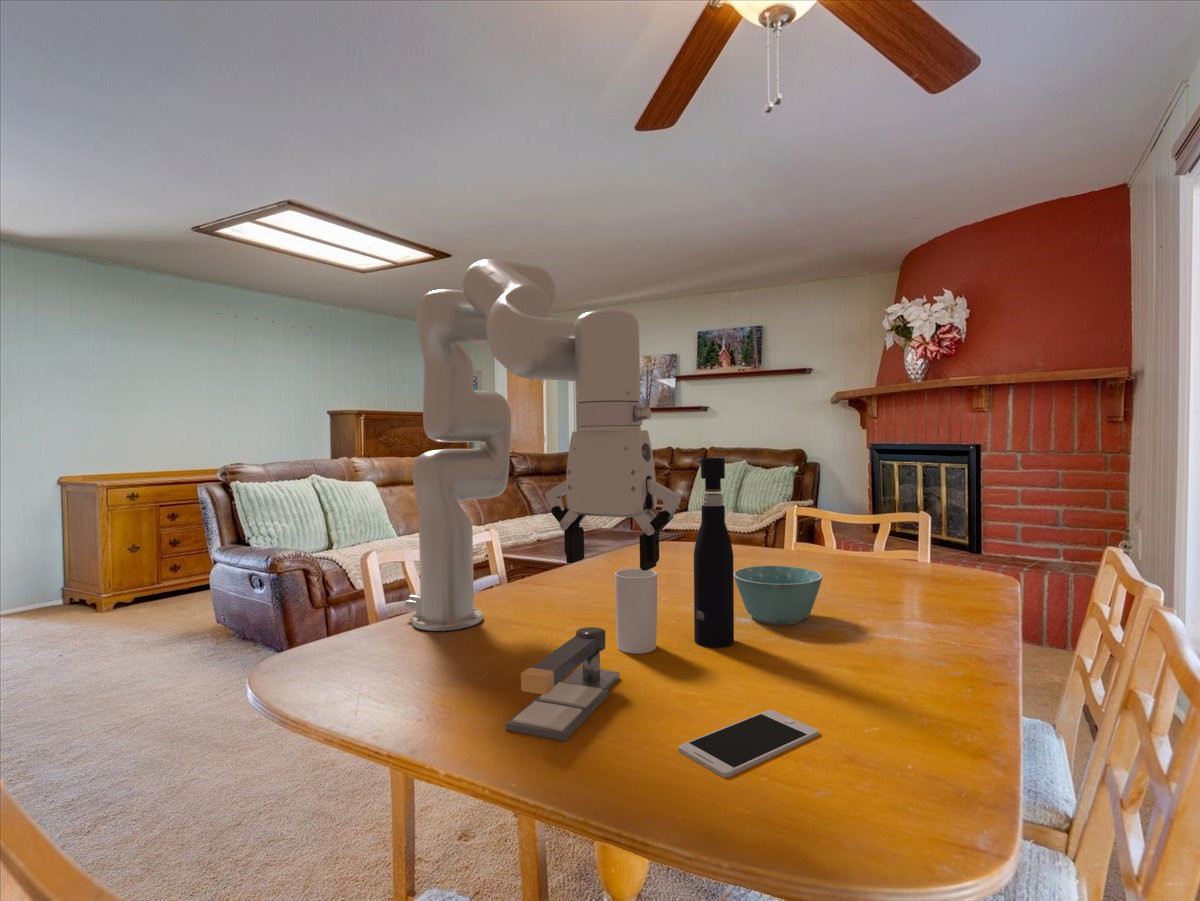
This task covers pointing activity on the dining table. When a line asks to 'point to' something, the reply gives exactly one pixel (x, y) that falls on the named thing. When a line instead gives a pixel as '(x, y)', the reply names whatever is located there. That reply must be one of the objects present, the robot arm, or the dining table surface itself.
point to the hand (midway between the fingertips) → (610, 564)
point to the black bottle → (713, 565)
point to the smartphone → (747, 742)
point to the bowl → (778, 592)
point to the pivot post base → (593, 674)
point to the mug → (636, 610)
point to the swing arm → (562, 661)
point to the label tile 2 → (575, 696)
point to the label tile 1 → (547, 720)
